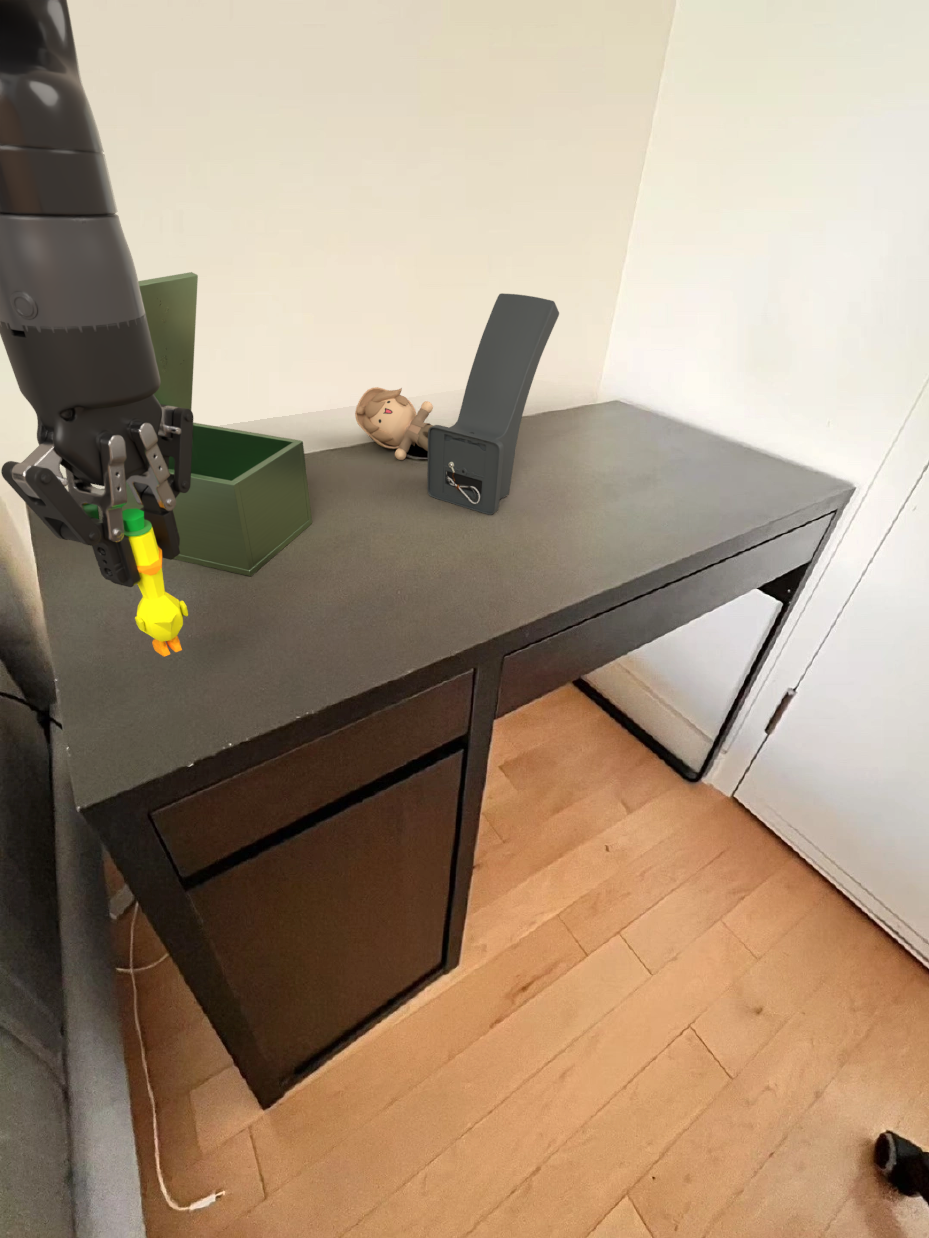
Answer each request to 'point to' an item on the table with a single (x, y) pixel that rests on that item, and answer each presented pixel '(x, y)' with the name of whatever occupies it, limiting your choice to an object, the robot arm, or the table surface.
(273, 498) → the bin
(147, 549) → the toy figure
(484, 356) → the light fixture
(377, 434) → the action figure
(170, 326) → the bin lid
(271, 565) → the table surface
